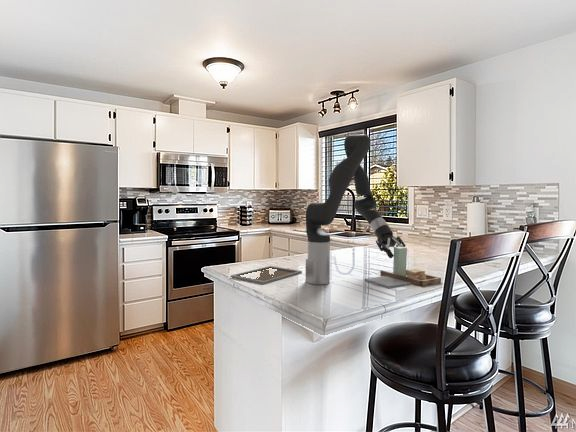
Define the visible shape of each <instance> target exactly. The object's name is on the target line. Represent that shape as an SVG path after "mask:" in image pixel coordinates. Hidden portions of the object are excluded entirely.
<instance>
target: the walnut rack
mask: <svg viewBox="0 0 576 432" xmlns="http://www.w3.org/2000/svg"><path fill="white" fill-rule="evenodd" d="M407 270H408V269H406V276H402V275H398V274H394V273H393V272H389V271H386V270H380V271H379V273H380V274H379V275H380V276H388V277H391V278H395V279H399V280H402V281H406V282H410V284H413V285H415V286H418V287H419V286H420V287H425V286H429V285H430V286H431V285H436V283H437V284H440V283H442V277H438V276H435V275H434V276H433V275H430V274H426V280H417V279H414V278H410V277H407Z"/></svg>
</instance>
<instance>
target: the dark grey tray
mask: <svg viewBox="0 0 576 432" xmlns="http://www.w3.org/2000/svg"><path fill="white" fill-rule="evenodd" d="M269 268H272V269H277V271H275V272H274V275H273V274H271V275H270V274H269V270H266V269H269ZM263 270H264V271H263ZM257 271H261V273H260V277H259V278H258V277H257V278H258V279H257V278H256V279H251V278H246V277H241V276H240V275H244V274H248V273H252V272H257ZM262 272H263V273H262ZM300 274H303V271H302V270H297V269H293V268H289V267H288V268H284V267H281V266H275V265H274V266H273V265H268V266H265V267H260V268H257V269H252V270H249V271H247V270H246V271H244V272H240V273H236V274H231V275H230V278H231V277H232V278H231V279H233V278H236V279H235V280H238V279H241V280H240V281H243V280H245V281H244V282H248V281H250V282H249V283H252V282H254V283H253V284H257V283H258V285H267V284H271V283H274V282H278V281H280V280H285V279H287V278H290V277H293V276H297V275H300ZM272 276H273V277H272ZM277 280H278V281H277ZM270 282H271V283H270Z"/></svg>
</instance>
